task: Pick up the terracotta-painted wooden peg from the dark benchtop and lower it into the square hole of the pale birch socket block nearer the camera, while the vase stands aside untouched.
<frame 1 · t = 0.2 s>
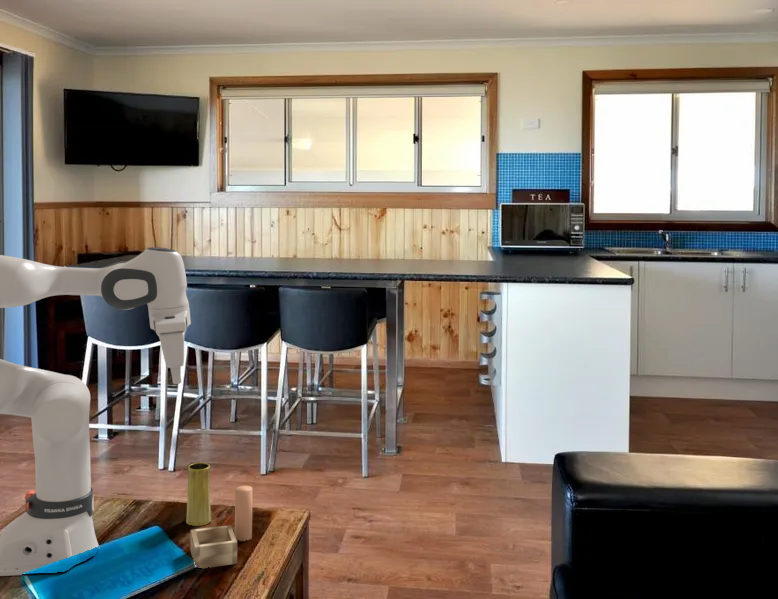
hand: (176, 378, 164), 39 cm above the table, tool pointing down, fingers open, 8 cm apart
peg: (243, 537, 171), on the table
socket block: (213, 557, 160), on the table
vase: (198, 522, 179), on the table
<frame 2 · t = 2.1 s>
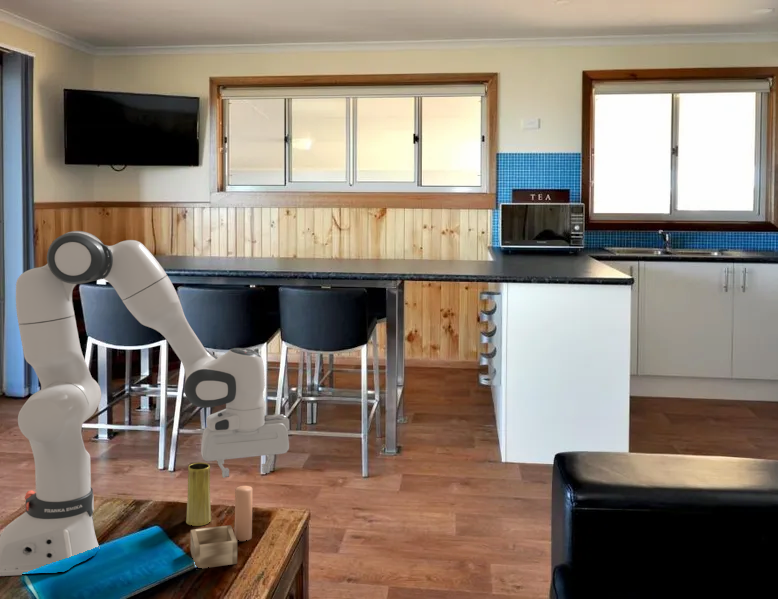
hand: (245, 474, 169), 16 cm above the table, tool pointing down, fingers open, 8 cm apart
nothing on the table moved.
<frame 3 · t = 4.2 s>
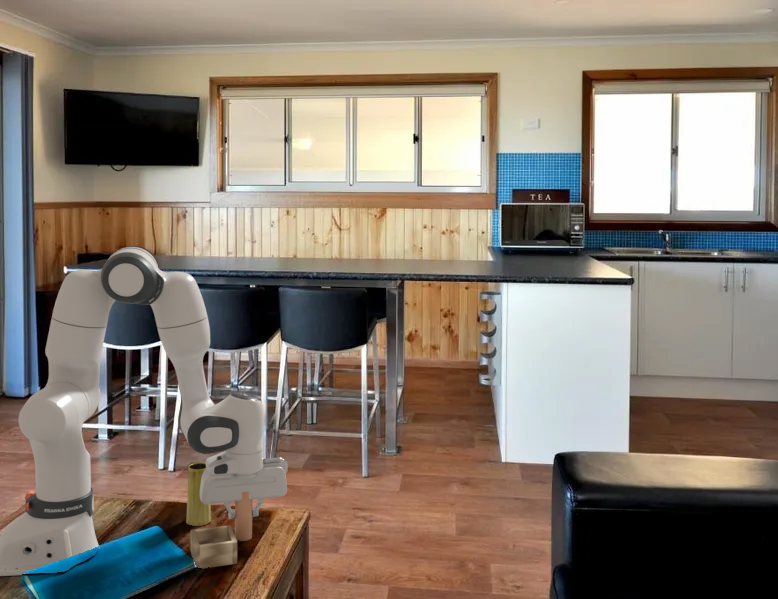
hand: (243, 516, 170), 5 cm above the table, tool pointing down, fingers closed on peg, 4 cm apart
peg: (243, 537, 171), on the table, touching gripper
everything else where it was.
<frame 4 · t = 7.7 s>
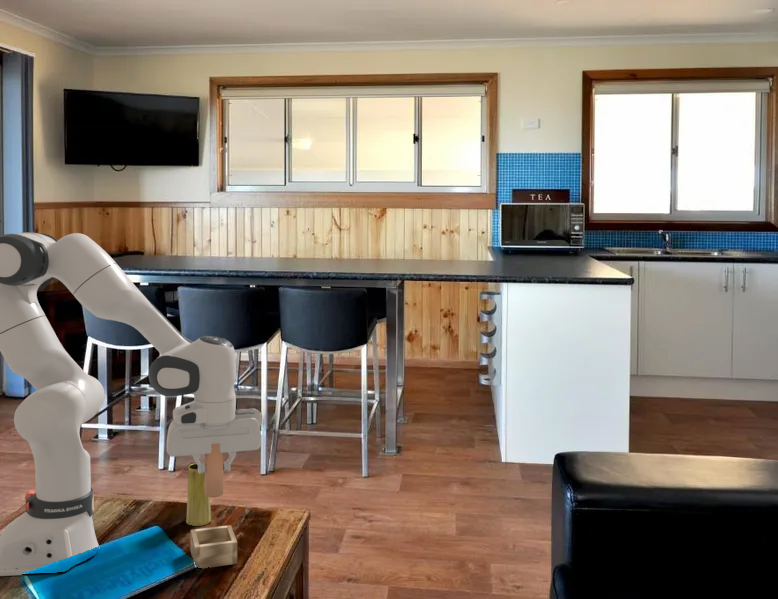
hand: (214, 471, 158), 20 cm above the table, tool pointing down, fingers closed on peg, 4 cm apart
peg: (214, 493, 159), point 15 cm above the table, touching gripper
everything else where it was.
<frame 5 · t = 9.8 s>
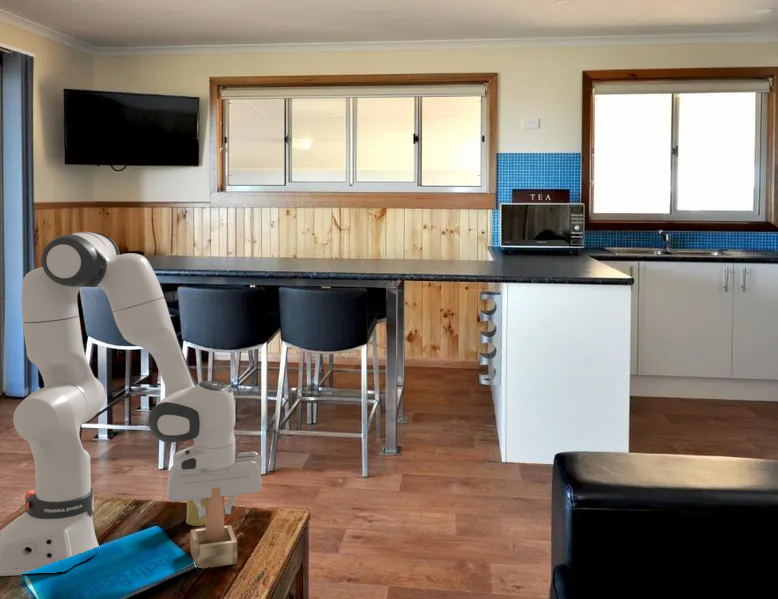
hand: (214, 515, 159), 10 cm above the table, tool pointing down, fingers closed on peg, 4 cm apart
peg: (214, 536, 160), point 5 cm above the table, touching gripper
everything else where it was.
when the fingers open (7 cm above the table, at t = 11.5 s): peg drops 1 cm, resting in socket block.
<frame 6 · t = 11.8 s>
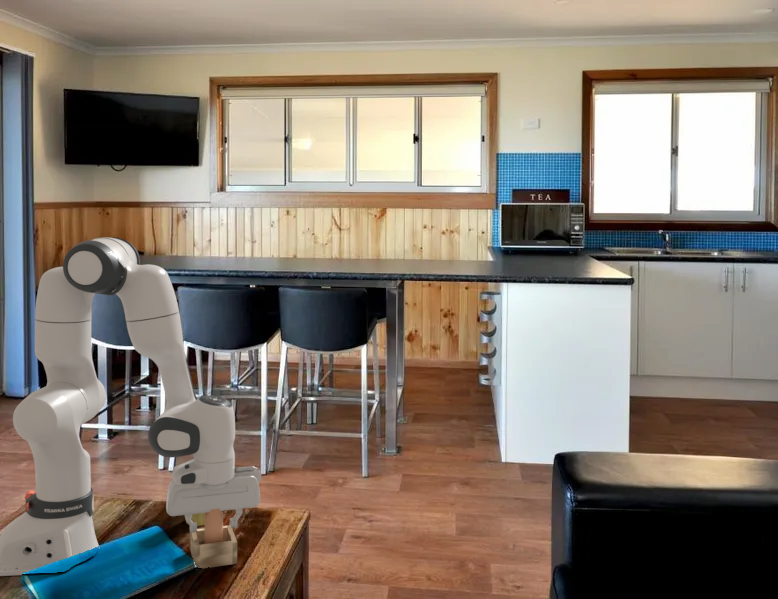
hand: (213, 529, 160), 7 cm above the table, tool pointing down, fingers open, 7 cm apart
peg: (213, 557, 160), resting in socket block
everything else where it was.
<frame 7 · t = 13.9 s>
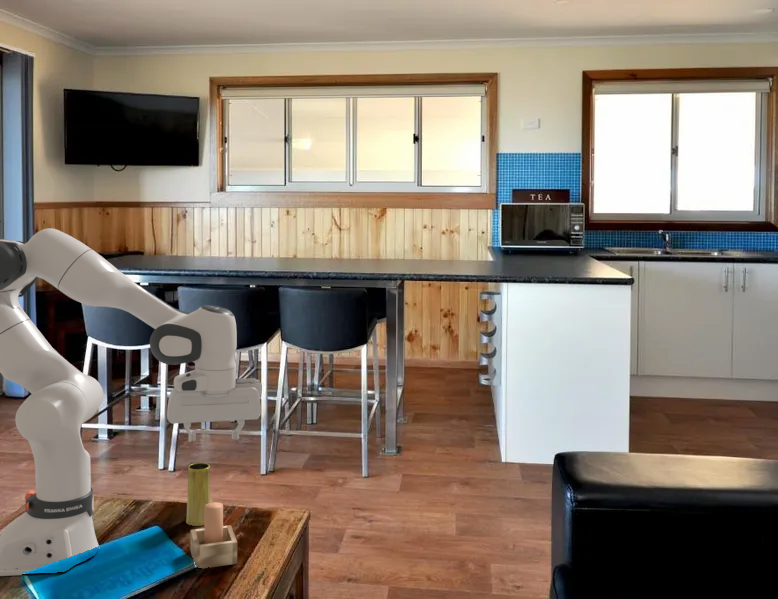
hand: (214, 439, 160), 26 cm above the table, tool pointing down, fingers open, 8 cm apart
nothing on the table moved.
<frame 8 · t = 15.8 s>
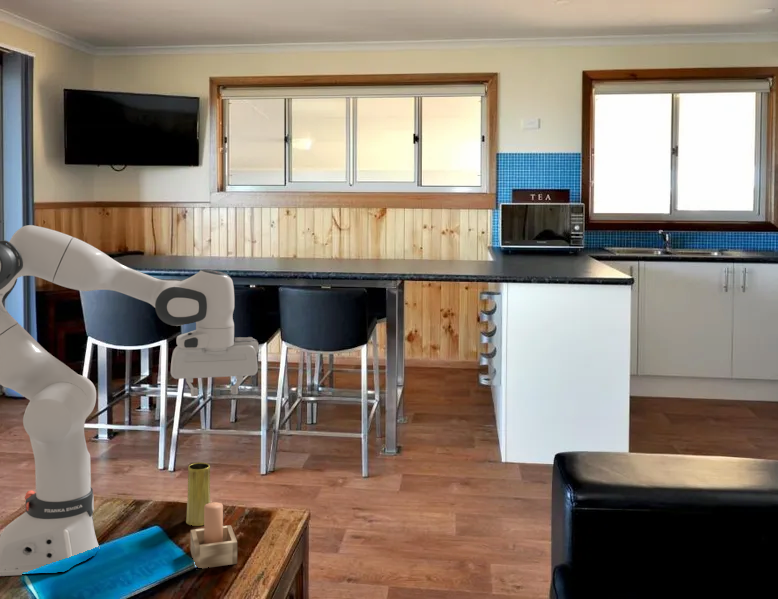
hand: (214, 394, 172), 33 cm above the table, tool pointing down, fingers open, 8 cm apart
nothing on the table moved.
at the end: peg 0.0 cm off-centre on the socket block, point 0.0 cm above the socket block's base; peg tilted 0°; the gripper is holding nothing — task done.
